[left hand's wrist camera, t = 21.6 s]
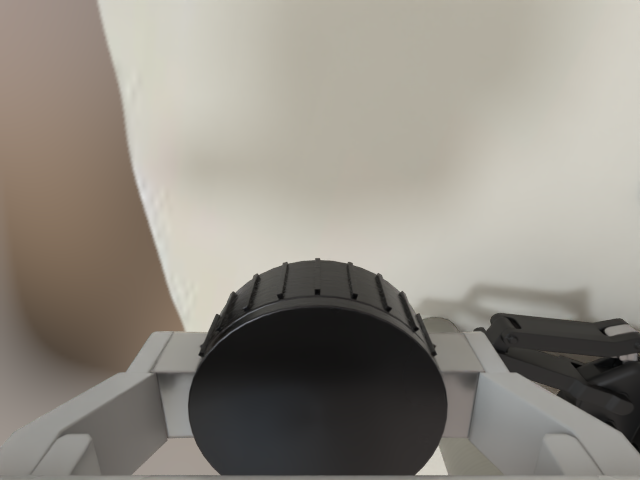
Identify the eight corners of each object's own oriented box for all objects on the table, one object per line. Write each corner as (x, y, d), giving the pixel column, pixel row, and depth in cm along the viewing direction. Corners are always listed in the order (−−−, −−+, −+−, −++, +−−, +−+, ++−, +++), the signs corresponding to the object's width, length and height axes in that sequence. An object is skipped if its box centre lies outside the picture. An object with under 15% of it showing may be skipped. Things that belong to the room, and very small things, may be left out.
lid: (197, 256, 9) (166, 302, 7) (437, 255, 9) (468, 301, 7) (218, 438, 11) (198, 512, 9) (417, 437, 11) (438, 511, 9)
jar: (457, 360, 37) (581, 614, 20) (405, 362, 38) (483, 618, 20) (460, 315, 36) (599, 550, 18) (406, 318, 36) (492, 555, 18)
